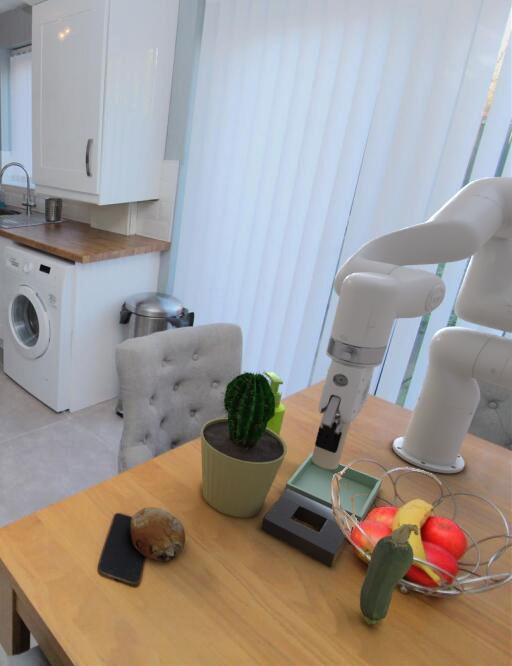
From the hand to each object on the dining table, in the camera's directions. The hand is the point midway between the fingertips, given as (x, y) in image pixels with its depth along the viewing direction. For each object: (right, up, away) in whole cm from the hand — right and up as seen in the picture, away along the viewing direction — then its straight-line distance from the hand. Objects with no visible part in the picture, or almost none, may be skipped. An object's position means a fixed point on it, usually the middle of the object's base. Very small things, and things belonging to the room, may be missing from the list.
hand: (330, 442), depth 85 cm
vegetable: (0, -26, -9) cm, 27 cm away
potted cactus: (-10, -16, +16) cm, 25 cm away
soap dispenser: (+4, -10, +30) cm, 32 cm away
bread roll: (-29, -20, +6) cm, 36 cm away
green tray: (+12, -15, +16) cm, 25 cm away
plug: (0, -4, +2) cm, 4 cm away
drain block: (0, -19, +7) cm, 20 cm away
